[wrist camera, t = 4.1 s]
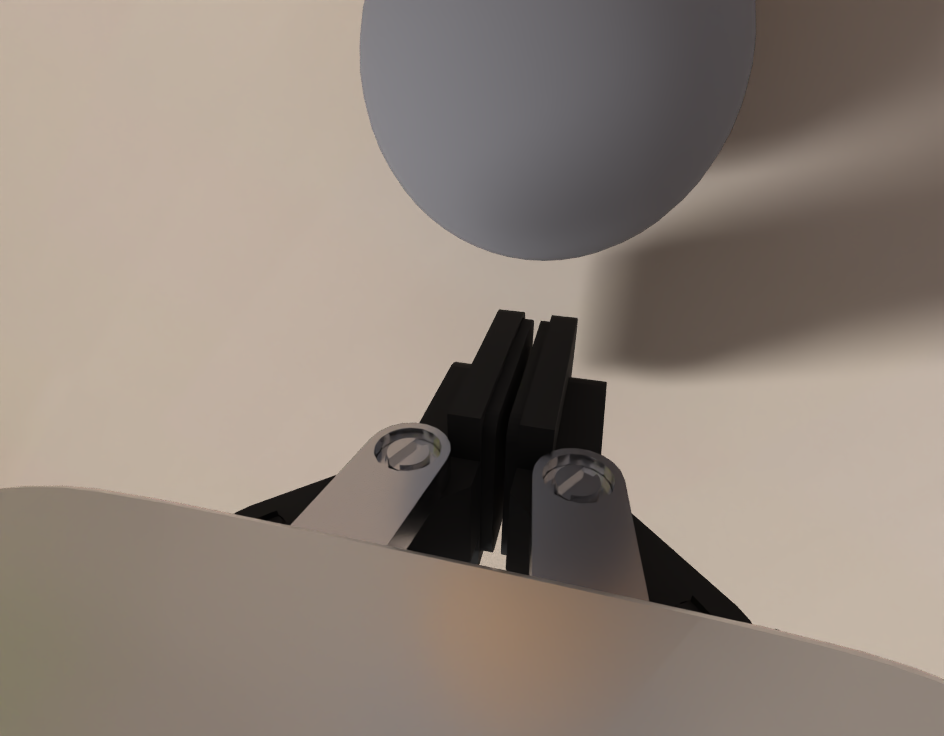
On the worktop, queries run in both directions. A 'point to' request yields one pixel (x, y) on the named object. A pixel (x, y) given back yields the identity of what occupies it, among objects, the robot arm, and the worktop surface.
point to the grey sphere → (553, 112)
